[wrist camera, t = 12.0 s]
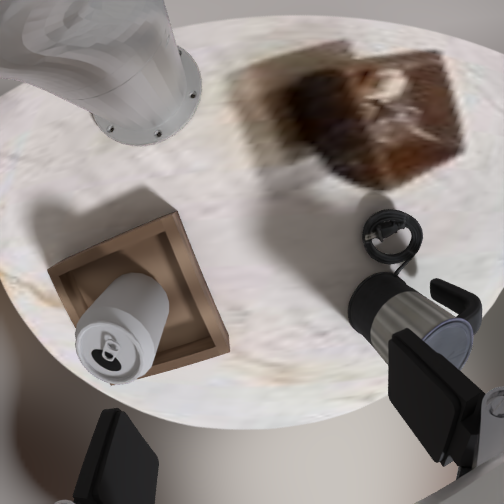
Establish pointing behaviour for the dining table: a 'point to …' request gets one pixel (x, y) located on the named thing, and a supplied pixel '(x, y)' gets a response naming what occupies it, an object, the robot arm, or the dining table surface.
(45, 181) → the dining table surface
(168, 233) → the tray
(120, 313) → the can
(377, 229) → the milk frother
